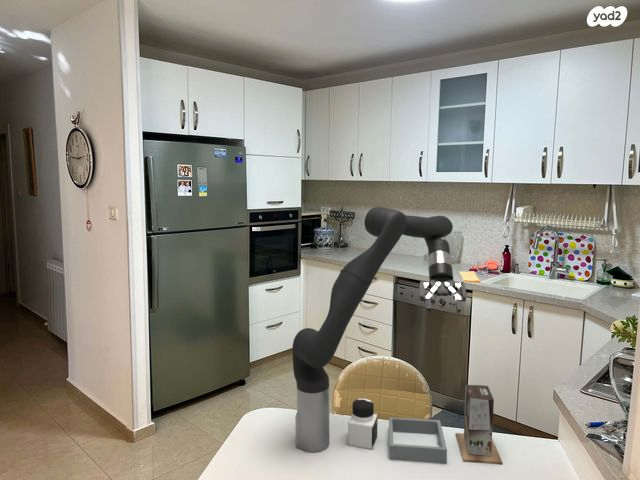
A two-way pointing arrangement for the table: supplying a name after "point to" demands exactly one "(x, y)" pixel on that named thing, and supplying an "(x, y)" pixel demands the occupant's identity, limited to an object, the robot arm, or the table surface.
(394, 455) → the bin
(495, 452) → the pad
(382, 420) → the table surface
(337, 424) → the table surface
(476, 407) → the coffee box
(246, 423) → the table surface
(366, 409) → the medicine bottle
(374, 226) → the robot arm
